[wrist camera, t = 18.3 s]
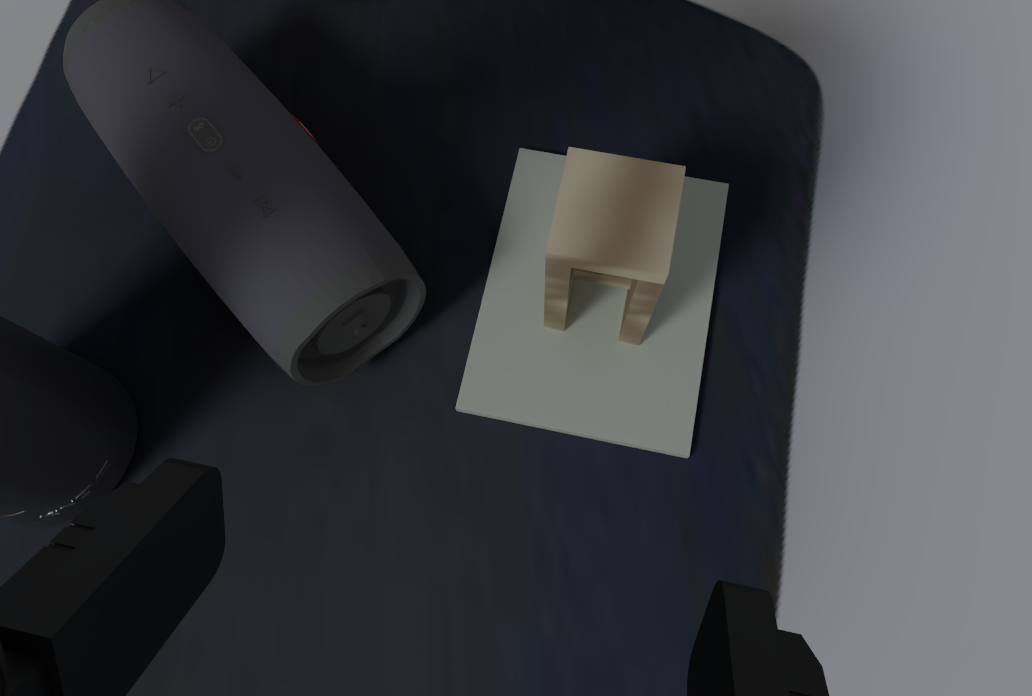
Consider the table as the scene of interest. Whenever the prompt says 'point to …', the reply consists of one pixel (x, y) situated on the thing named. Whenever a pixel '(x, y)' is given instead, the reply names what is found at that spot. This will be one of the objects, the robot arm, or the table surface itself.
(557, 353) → the sage mat
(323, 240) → the bluetooth speaker
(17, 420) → the robot arm
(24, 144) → the table surface
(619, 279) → the birch stool
